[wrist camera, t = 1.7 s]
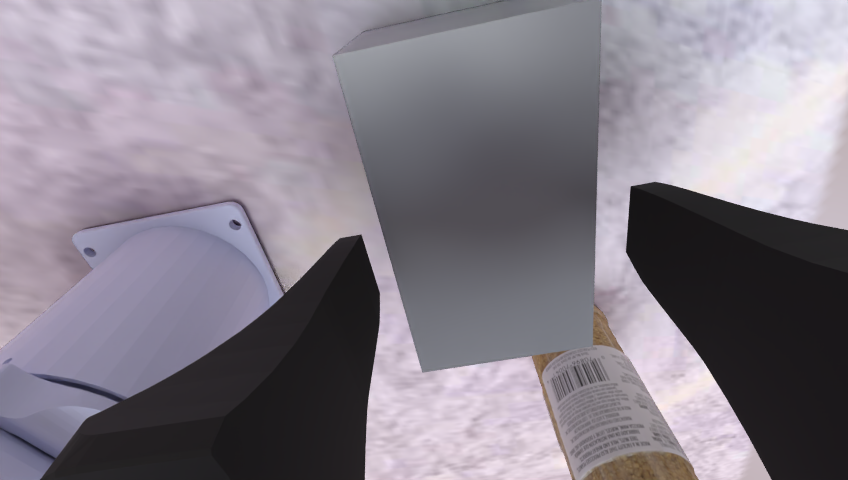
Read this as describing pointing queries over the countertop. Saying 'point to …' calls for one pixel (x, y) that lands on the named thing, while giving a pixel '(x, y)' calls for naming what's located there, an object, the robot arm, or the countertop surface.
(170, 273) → the robot arm
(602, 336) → the spice jar
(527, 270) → the grey rectangular block
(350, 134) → the countertop surface
